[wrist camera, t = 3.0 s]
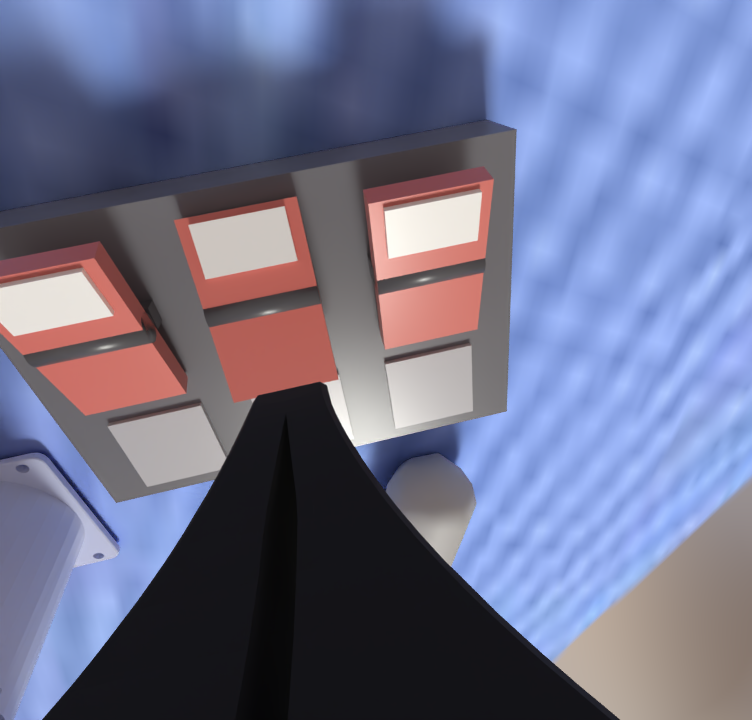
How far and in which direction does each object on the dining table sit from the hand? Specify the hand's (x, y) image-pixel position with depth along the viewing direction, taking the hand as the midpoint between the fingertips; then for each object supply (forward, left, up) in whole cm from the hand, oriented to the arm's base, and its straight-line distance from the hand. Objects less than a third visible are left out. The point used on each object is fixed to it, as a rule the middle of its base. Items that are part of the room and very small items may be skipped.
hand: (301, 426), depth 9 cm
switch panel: (-1, -3, -11) cm, 11 cm away
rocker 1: (-7, 0, -7) cm, 9 cm away
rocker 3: (+4, 0, -7) cm, 8 cm away
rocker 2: (-1, 0, -7) cm, 7 cm away
